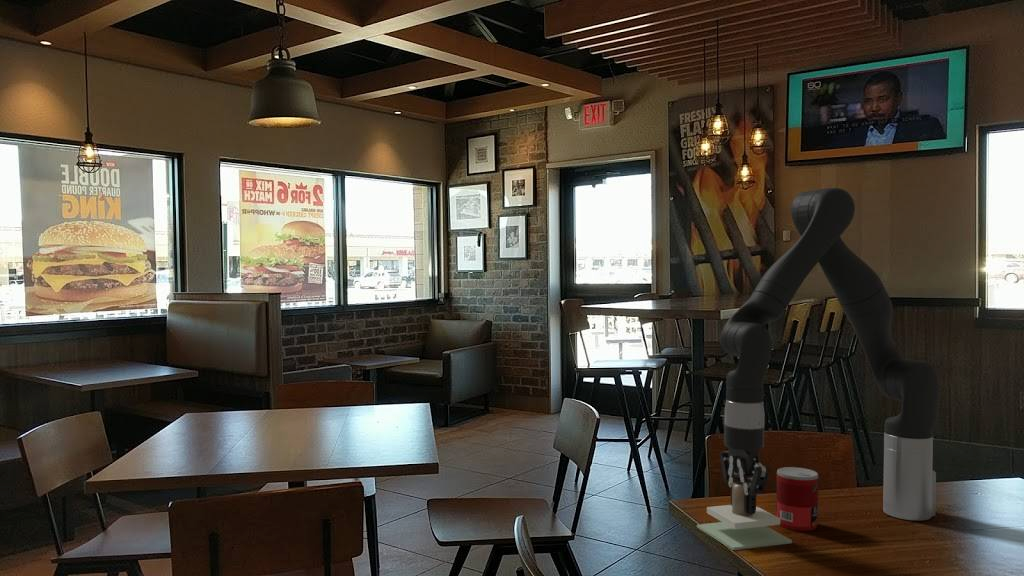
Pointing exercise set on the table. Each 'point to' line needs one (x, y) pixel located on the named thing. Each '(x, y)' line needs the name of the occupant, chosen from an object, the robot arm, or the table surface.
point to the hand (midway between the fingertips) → (742, 509)
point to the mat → (743, 536)
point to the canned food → (797, 498)
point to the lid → (741, 512)
